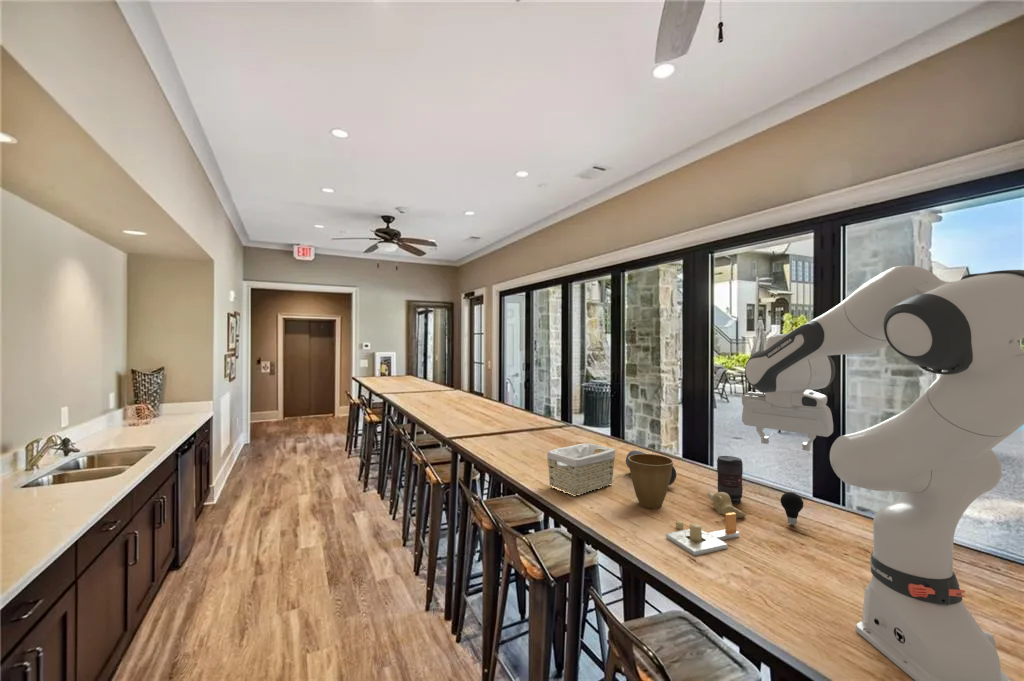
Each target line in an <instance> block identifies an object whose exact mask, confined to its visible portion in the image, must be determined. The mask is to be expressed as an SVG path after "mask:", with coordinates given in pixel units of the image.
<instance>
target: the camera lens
mask: <svg viewBox="0 0 1024 681" xmlns="http://www.w3.org/2000/svg"><path fill="white" fill-rule="evenodd" d="M742 460H743V459H742V458H740V457H737V456H734V455H733V456H732V455H719V456H717V460H716V472H717V493H718V492H725V493H727V494H728V495H729V496H730V498H731V502H732V503H737V504H740V503H741V502H742V498H743V489H744V488H743V472H744V471H743V469H744V468H743V466H744V465H743V461H742Z"/></svg>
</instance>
